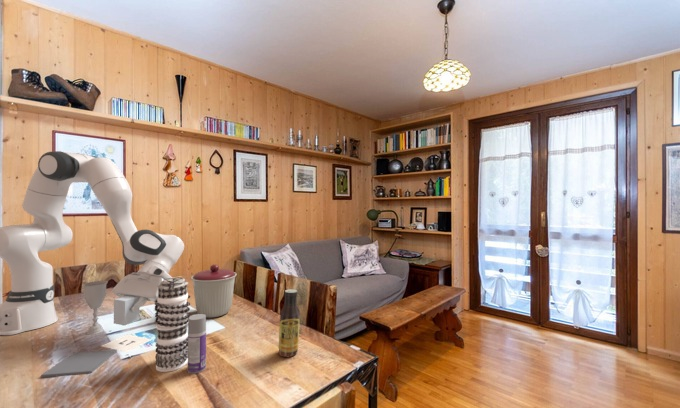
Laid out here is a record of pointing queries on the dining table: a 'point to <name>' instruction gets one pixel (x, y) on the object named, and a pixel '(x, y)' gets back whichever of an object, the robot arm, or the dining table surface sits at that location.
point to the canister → (213, 291)
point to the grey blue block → (125, 310)
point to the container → (196, 343)
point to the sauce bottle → (289, 325)
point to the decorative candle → (172, 324)
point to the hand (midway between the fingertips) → (125, 309)
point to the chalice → (95, 301)
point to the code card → (126, 343)
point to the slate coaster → (79, 363)
